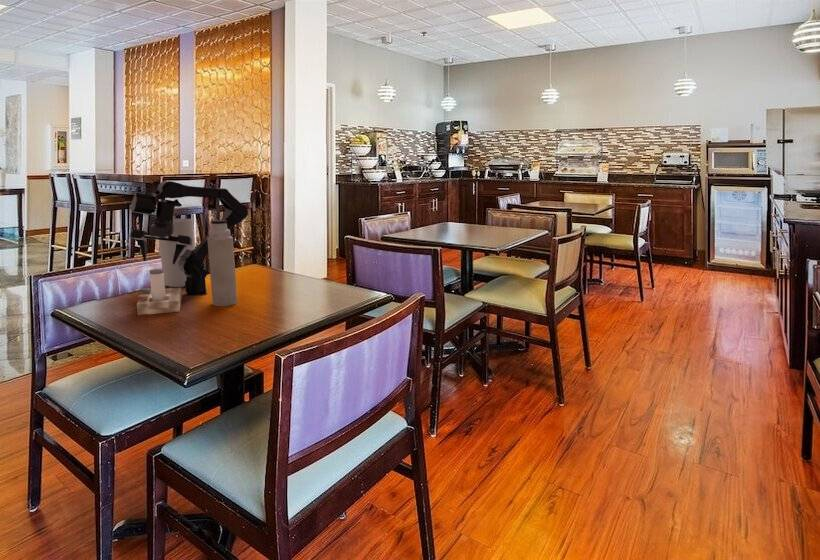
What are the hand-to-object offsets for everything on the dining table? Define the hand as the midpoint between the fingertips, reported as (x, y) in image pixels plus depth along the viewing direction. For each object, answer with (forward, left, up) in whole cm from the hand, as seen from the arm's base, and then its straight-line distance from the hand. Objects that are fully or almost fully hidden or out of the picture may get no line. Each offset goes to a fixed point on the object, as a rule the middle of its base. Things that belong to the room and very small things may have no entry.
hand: (159, 262), depth 185 cm
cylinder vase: (-5, -24, -13) cm, 28 cm away
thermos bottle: (-20, +13, -13) cm, 27 cm away
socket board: (0, +9, -13) cm, 16 cm away
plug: (0, +14, -13) cm, 19 cm away
